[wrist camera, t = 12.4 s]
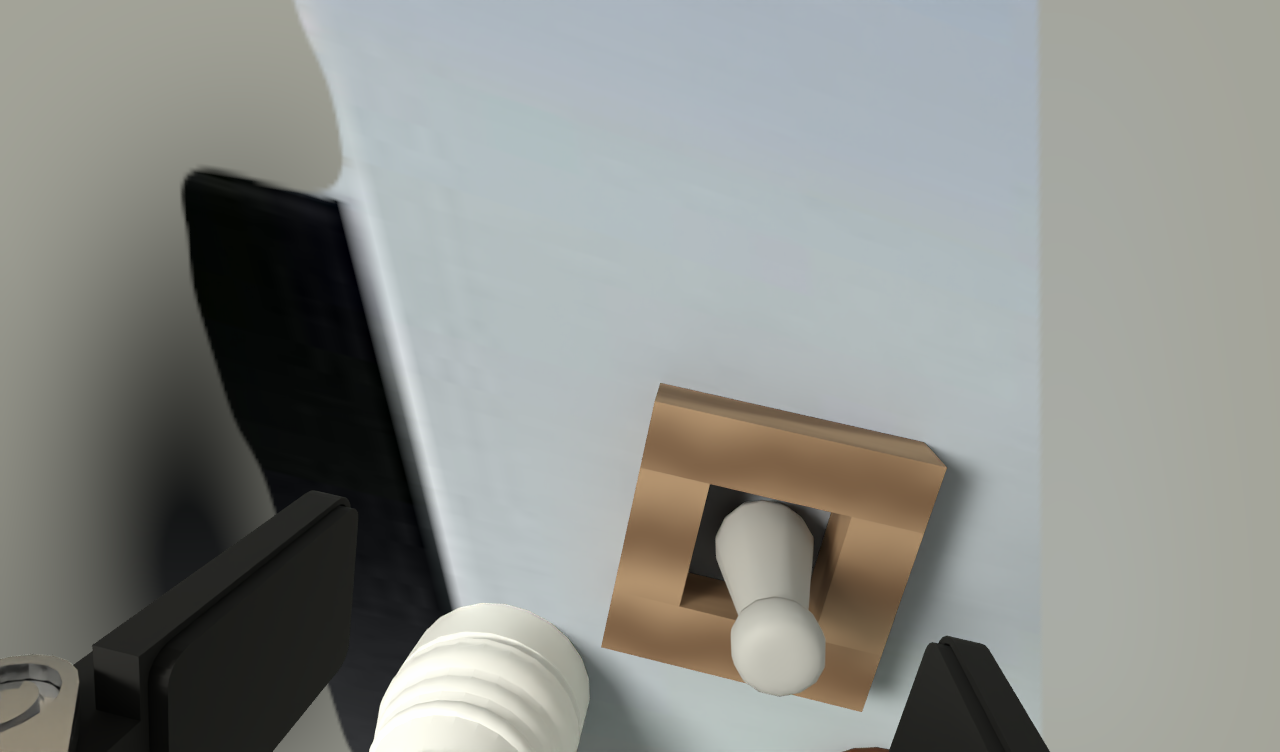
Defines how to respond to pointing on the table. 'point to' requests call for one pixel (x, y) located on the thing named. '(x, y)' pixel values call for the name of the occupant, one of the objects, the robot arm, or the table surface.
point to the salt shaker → (771, 597)
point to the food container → (868, 750)
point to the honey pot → (486, 687)
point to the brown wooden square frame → (784, 470)
